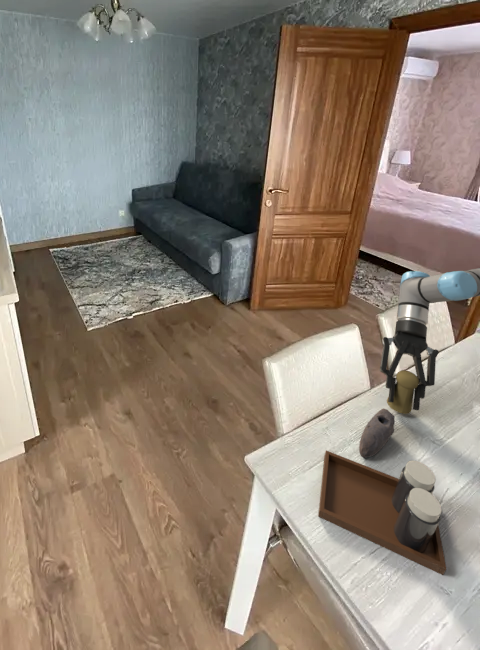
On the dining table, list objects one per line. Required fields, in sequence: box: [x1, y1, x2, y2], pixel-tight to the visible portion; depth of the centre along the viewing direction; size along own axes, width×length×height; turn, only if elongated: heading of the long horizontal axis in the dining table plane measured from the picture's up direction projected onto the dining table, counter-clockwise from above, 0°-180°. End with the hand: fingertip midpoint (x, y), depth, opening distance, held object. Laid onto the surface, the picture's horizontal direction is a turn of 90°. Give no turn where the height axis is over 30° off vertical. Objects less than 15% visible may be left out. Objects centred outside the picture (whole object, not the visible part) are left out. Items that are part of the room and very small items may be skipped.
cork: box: [386, 369, 419, 415], centre depth 95 cm, size 6×6×11 cm
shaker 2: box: [394, 488, 443, 553], centre depth 67 cm, size 6×6×11 cm
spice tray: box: [317, 450, 447, 576], centre depth 73 cm, size 22×15×3 cm
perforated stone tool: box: [358, 408, 396, 459], centre depth 87 cm, size 15×5×7 cm, turn 128°
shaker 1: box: [392, 460, 437, 513], centre depth 72 cm, size 6×6×11 cm
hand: (403, 405), depth 93 cm, fingers closed on cork, 5 cm apart
